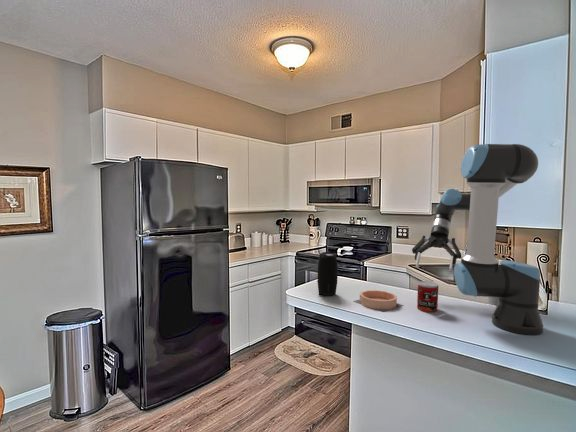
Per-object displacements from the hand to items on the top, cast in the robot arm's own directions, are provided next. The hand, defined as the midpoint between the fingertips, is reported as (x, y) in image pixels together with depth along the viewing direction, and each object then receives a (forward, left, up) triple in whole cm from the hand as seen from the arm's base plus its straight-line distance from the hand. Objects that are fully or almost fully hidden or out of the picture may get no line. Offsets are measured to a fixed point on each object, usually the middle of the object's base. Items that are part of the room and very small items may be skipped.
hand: (433, 267), depth 142 cm
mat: (+12, +21, -16) cm, 29 cm away
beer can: (-18, -25, -16) cm, 34 cm away
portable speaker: (+34, +30, -16) cm, 48 cm away
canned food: (-4, +10, -16) cm, 19 cm away
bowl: (+12, +21, -15) cm, 29 cm away
